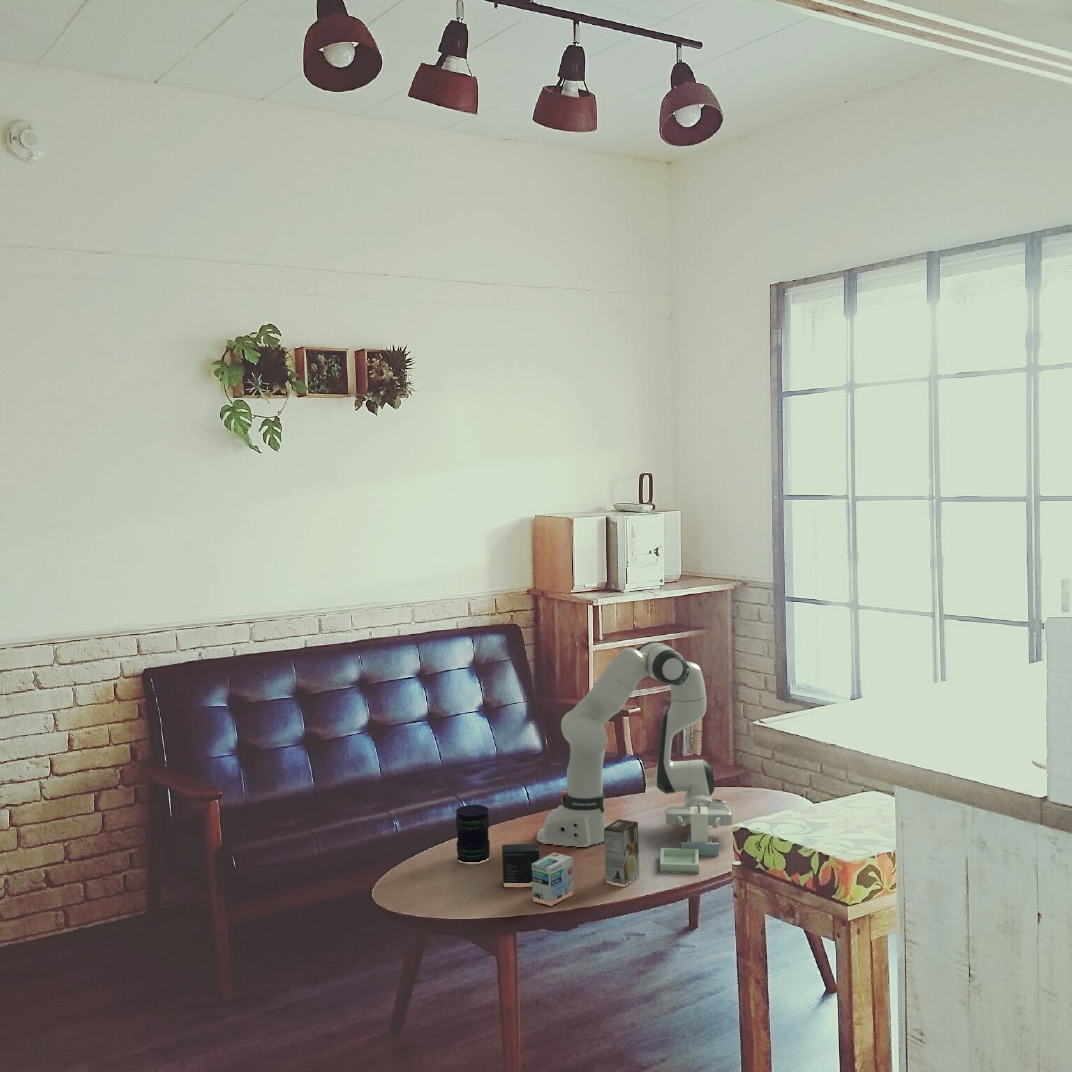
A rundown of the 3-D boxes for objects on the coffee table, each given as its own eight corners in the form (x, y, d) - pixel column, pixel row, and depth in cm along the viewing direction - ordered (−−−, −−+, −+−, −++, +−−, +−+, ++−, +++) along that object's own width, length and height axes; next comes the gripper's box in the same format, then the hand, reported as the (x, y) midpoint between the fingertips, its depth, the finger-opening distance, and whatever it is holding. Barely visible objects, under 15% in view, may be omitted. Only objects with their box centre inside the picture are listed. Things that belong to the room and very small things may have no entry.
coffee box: (619, 873, 321) (618, 818, 320) (639, 877, 318) (638, 821, 317) (604, 884, 314) (603, 827, 312) (625, 888, 310) (624, 831, 309)
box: (540, 878, 319) (539, 842, 318) (540, 887, 312) (540, 851, 311) (503, 879, 319) (502, 843, 318) (502, 888, 312) (501, 852, 311)
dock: (681, 854, 334) (681, 843, 334) (681, 844, 343) (681, 833, 343) (718, 855, 333) (718, 844, 333) (717, 845, 341) (717, 834, 341)
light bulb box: (551, 908, 298) (550, 868, 297) (531, 902, 302) (530, 863, 301) (574, 895, 306) (573, 856, 306) (554, 889, 311) (553, 851, 310)
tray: (660, 872, 321) (660, 864, 321) (660, 856, 334) (660, 848, 334) (699, 873, 320) (699, 864, 319) (698, 857, 332) (698, 848, 332)
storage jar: (455, 865, 331) (453, 815, 329) (458, 853, 340) (457, 805, 339) (489, 864, 330) (487, 815, 329) (491, 852, 340) (490, 804, 339)
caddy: (691, 853, 336) (690, 808, 335) (691, 845, 342) (690, 800, 341) (708, 853, 335) (707, 808, 334) (707, 845, 342) (707, 801, 341)
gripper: (664, 799, 353) (664, 813, 340) (730, 800, 351) (733, 815, 337) (665, 819, 354) (664, 834, 340) (730, 820, 351) (733, 835, 338)
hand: (699, 824), depth 339 cm, fingers open, 8 cm apart
